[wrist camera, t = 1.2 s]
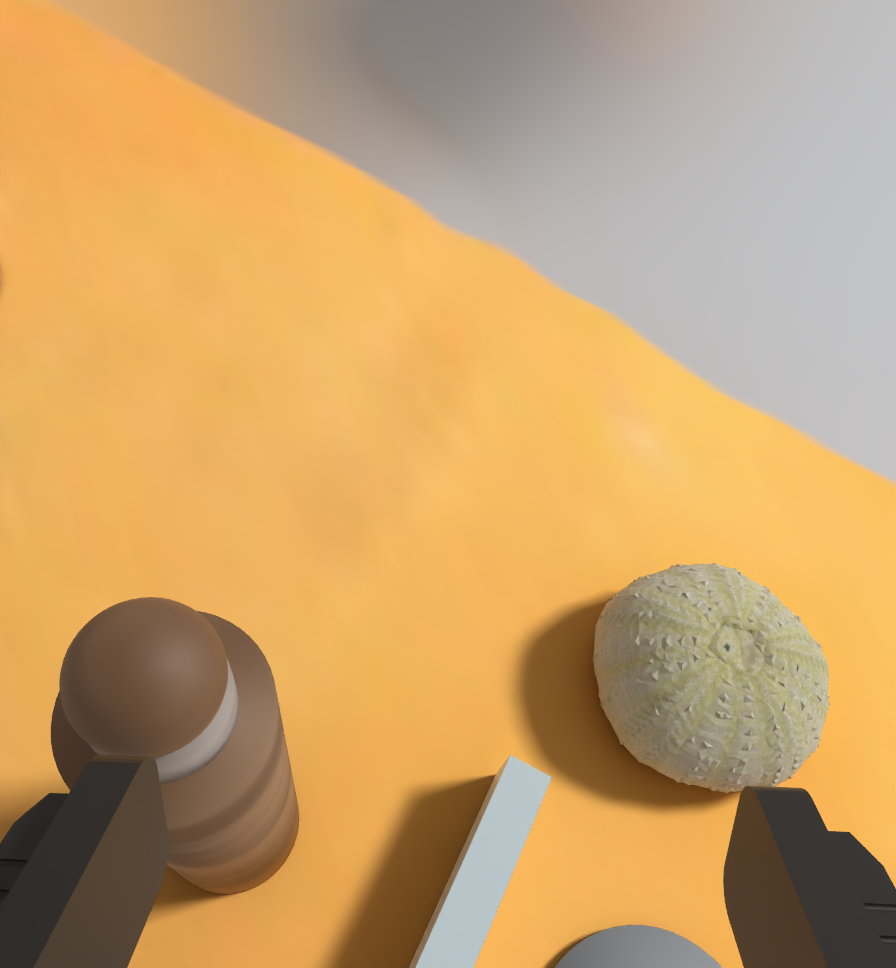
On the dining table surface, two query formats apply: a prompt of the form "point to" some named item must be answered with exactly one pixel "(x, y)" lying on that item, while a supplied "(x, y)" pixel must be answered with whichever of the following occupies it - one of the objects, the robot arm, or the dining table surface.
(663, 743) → the sea urchin shell
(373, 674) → the dining table surface
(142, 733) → the pepper mill
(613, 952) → the gray pad
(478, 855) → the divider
